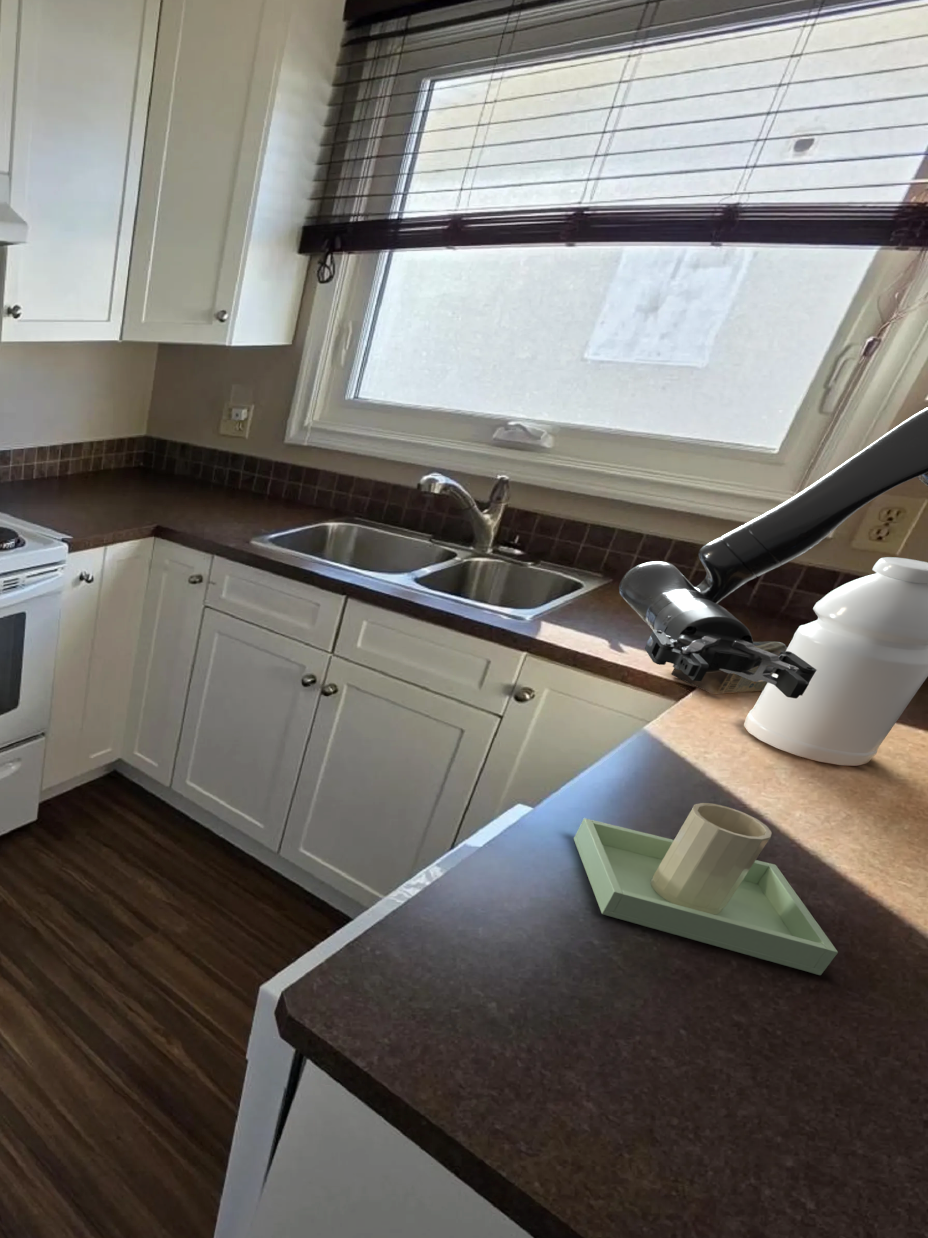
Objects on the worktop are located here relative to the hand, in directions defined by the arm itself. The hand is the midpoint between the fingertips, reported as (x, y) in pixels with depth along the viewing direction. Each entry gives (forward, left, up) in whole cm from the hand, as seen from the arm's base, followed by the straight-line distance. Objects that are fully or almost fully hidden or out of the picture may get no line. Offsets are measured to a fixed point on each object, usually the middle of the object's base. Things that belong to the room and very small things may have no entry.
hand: (748, 681), depth 90 cm
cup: (+3, +17, -19) cm, 26 cm away
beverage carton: (-23, -59, -20) cm, 66 cm away
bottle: (-25, -37, -20) cm, 49 cm away
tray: (+3, +17, -20) cm, 26 cm away
